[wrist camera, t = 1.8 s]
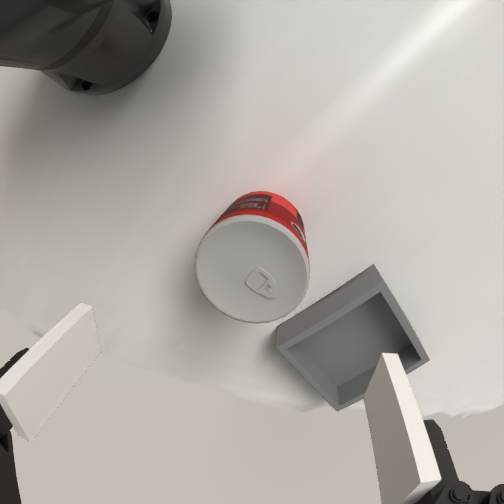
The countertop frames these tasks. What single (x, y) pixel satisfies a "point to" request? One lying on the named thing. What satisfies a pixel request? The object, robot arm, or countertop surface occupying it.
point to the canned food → (255, 259)
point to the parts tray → (349, 338)
